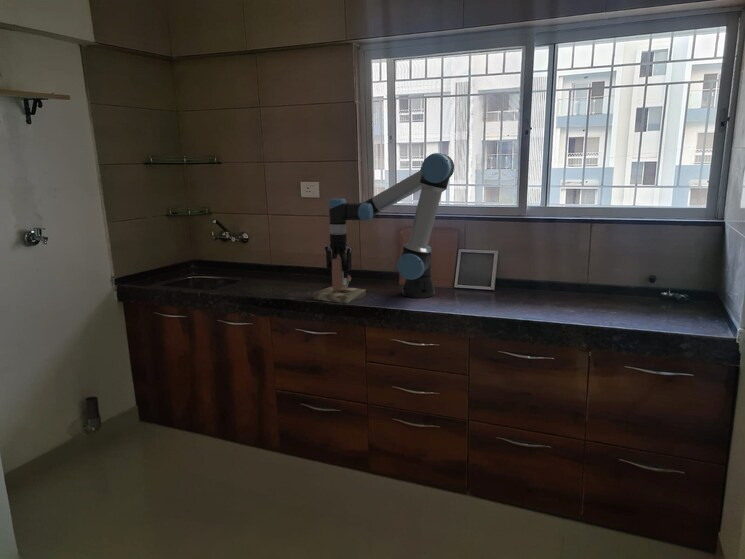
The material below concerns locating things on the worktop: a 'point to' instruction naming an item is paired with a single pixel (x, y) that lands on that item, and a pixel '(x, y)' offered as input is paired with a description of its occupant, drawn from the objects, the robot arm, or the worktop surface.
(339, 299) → the well block
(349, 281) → the cupcake
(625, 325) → the worktop surface
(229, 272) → the worktop surface
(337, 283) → the bracket bar
